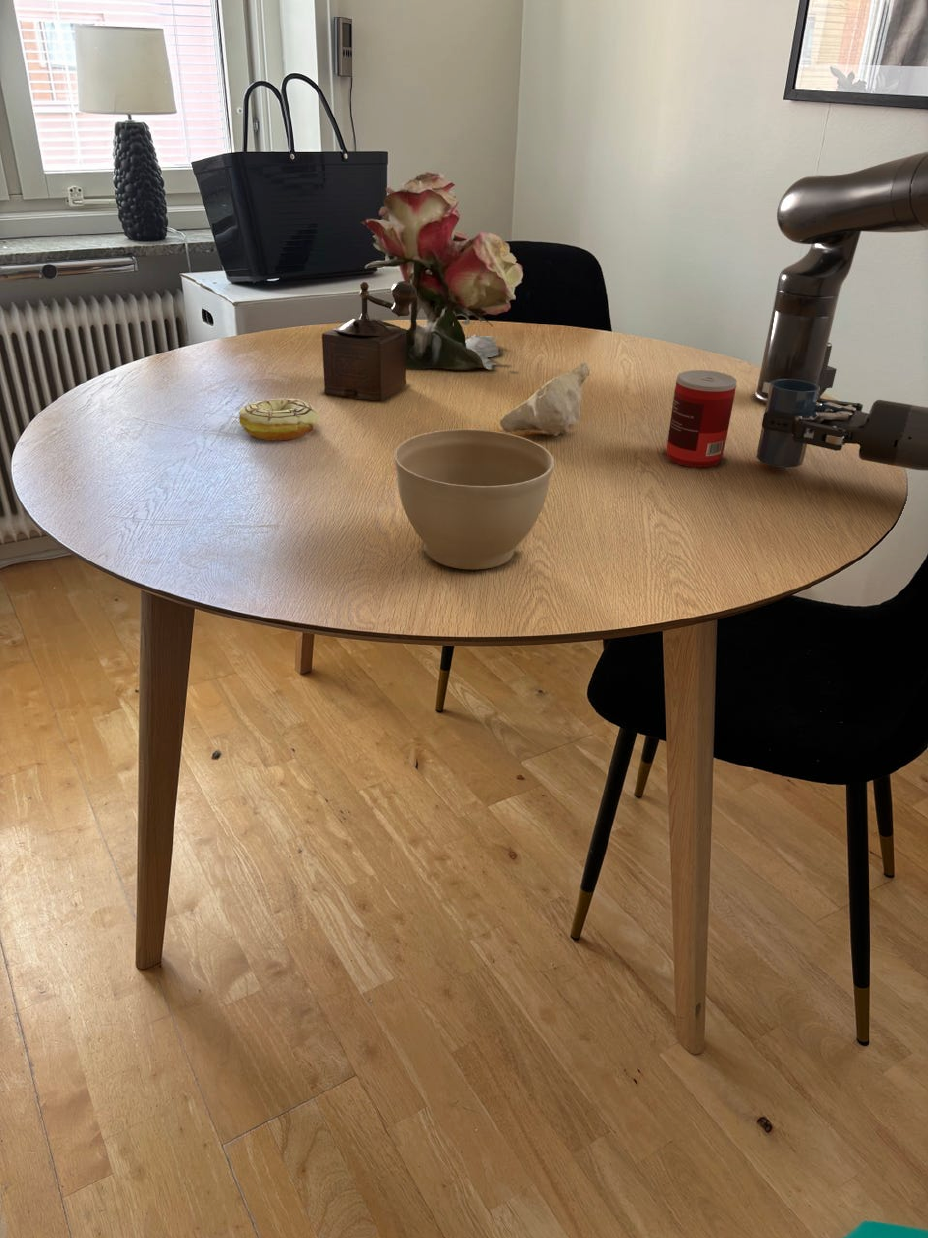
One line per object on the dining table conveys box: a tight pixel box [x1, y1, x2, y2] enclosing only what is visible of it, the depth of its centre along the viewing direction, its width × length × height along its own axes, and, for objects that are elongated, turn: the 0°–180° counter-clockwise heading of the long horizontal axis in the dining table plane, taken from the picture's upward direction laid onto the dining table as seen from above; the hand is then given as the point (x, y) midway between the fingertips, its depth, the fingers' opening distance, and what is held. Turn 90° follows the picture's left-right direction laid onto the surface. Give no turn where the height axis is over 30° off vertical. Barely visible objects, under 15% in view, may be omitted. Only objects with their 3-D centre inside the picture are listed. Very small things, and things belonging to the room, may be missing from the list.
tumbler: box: [756, 379, 820, 469], centre depth 118 cm, size 6×6×10 cm
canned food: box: [665, 369, 737, 468], centre depth 121 cm, size 8×8×11 cm
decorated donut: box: [238, 398, 319, 442], centre depth 127 cm, size 10×11×4 cm
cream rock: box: [498, 362, 591, 437], centre depth 131 cm, size 15×7×15 cm
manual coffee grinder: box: [321, 280, 417, 402], centre depth 141 cm, size 16×11×18 cm
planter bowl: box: [393, 428, 555, 570], centre depth 94 cm, size 16×16×11 cm
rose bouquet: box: [360, 171, 524, 371], centre depth 160 cm, size 26×29×30 cm
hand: (770, 412), depth 119 cm, fingers closed on tumbler, 6 cm apart
